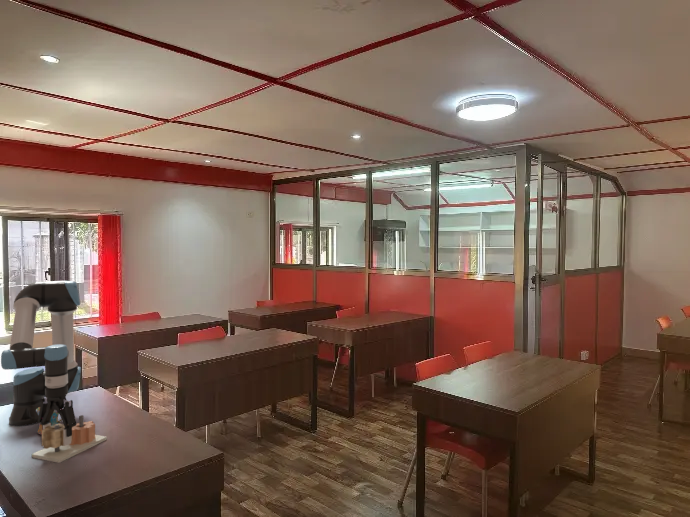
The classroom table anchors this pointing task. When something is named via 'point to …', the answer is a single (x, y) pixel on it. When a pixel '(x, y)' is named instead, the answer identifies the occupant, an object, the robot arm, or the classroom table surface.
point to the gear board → (72, 442)
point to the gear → (53, 436)
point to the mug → (53, 419)
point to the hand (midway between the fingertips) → (57, 442)
